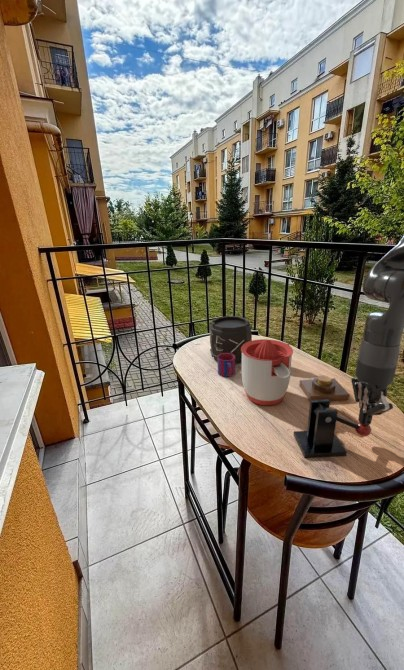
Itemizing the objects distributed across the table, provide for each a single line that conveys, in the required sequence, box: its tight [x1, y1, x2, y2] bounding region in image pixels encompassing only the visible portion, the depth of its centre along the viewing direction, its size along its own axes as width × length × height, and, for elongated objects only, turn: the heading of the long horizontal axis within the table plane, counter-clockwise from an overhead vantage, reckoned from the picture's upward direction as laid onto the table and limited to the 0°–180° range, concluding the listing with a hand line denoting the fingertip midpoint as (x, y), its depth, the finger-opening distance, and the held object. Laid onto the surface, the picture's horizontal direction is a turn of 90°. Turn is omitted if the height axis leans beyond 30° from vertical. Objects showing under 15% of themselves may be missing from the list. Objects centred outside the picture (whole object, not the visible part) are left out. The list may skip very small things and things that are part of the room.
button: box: [317, 374, 332, 386], centre depth 91 cm, size 4×4×2 cm
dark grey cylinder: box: [208, 315, 253, 365], centre depth 118 cm, size 18×18×16 cm
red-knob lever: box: [314, 404, 372, 438], centre depth 68 cm, size 15×4×4 cm, turn 91°
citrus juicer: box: [241, 338, 294, 406], centre depth 87 cm, size 16×17×20 cm
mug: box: [216, 353, 236, 378], centre depth 105 cm, size 7×10×7 cm
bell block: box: [299, 376, 350, 402], centre depth 91 cm, size 12×10×4 cm
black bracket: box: [293, 399, 348, 459], centre depth 68 cm, size 10×8×12 cm
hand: (363, 422), depth 68 cm, fingers closed
